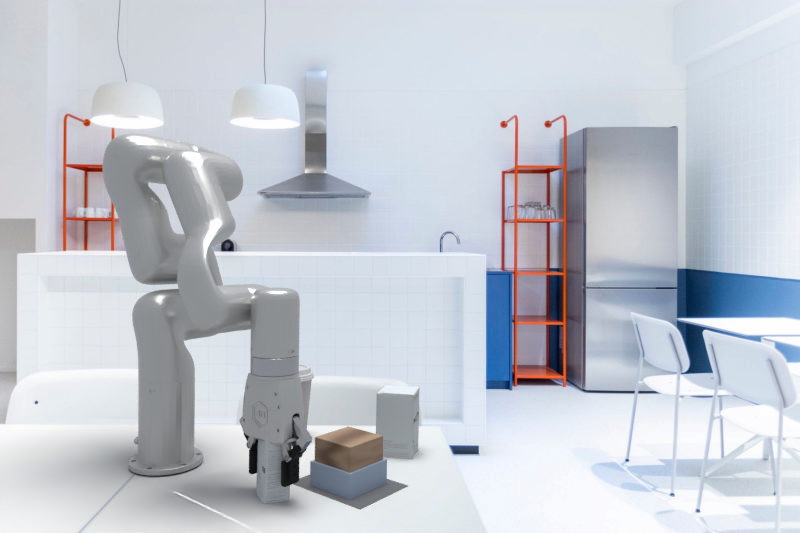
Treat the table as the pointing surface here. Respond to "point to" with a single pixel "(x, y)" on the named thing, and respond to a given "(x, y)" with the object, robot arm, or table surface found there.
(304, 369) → the coffee cup
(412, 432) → the supplement box
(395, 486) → the mat
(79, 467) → the table surface
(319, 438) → the tower top
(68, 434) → the table surface
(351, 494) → the tower base
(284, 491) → the skincare box
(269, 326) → the robot arm
